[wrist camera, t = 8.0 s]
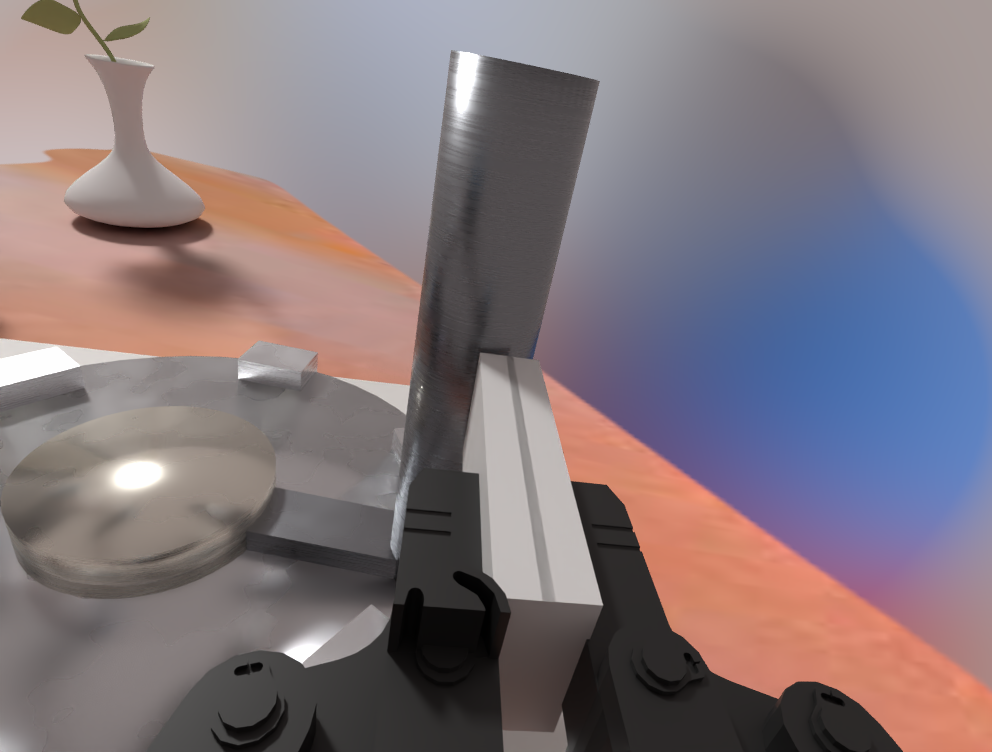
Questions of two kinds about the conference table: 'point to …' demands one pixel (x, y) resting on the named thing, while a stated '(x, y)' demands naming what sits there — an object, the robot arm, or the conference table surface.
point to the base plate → (519, 746)
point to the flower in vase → (121, 141)
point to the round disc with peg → (262, 455)
